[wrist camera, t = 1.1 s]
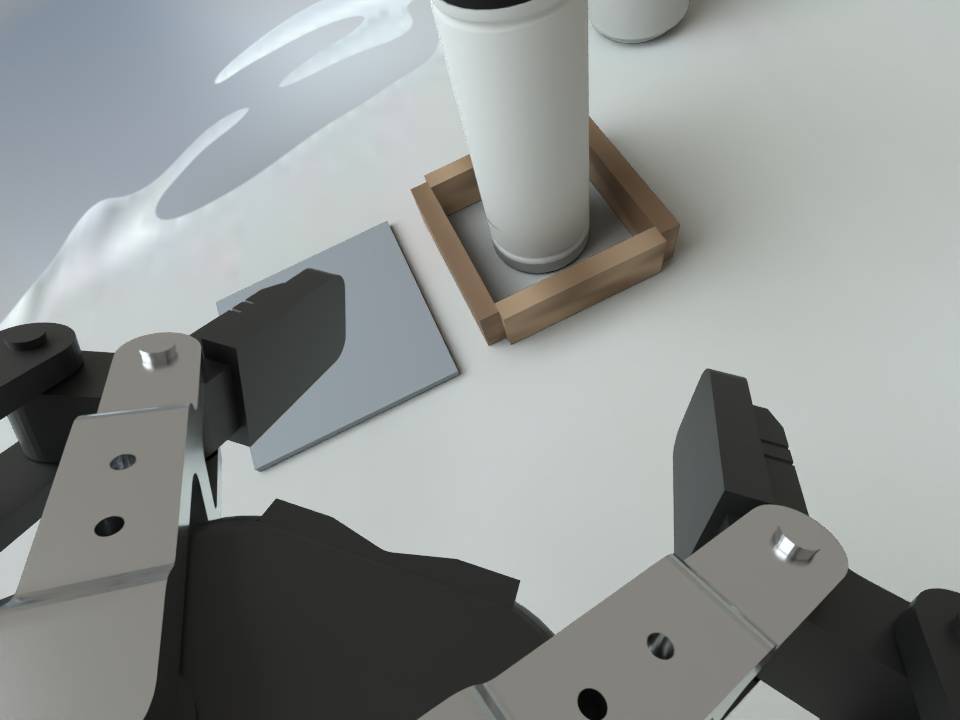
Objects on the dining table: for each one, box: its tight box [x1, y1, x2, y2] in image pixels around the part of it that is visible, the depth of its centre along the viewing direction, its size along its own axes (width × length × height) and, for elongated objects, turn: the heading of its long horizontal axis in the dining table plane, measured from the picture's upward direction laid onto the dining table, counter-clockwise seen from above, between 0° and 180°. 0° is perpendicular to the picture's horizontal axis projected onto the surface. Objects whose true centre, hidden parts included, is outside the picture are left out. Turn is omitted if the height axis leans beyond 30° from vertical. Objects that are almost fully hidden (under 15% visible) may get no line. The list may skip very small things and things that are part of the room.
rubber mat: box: [216, 221, 460, 472], centre depth 35 cm, size 13×13×1 cm
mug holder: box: [411, 117, 680, 345], centre depth 34 cm, size 12×12×3 cm
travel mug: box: [430, 0, 590, 273], centre depth 27 cm, size 6×7×20 cm
